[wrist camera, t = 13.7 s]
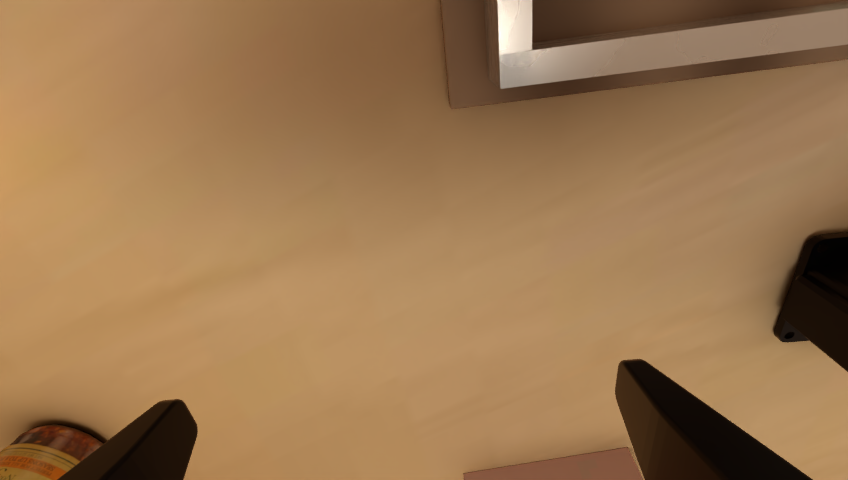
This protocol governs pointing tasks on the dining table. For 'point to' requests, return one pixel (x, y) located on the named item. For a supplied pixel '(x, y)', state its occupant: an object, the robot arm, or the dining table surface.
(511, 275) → the dining table surface
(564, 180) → the dining table surface
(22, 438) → the sauce bottle
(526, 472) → the greeting card
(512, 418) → the dining table surface
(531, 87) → the pale grey flat strip
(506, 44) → the steel rails
